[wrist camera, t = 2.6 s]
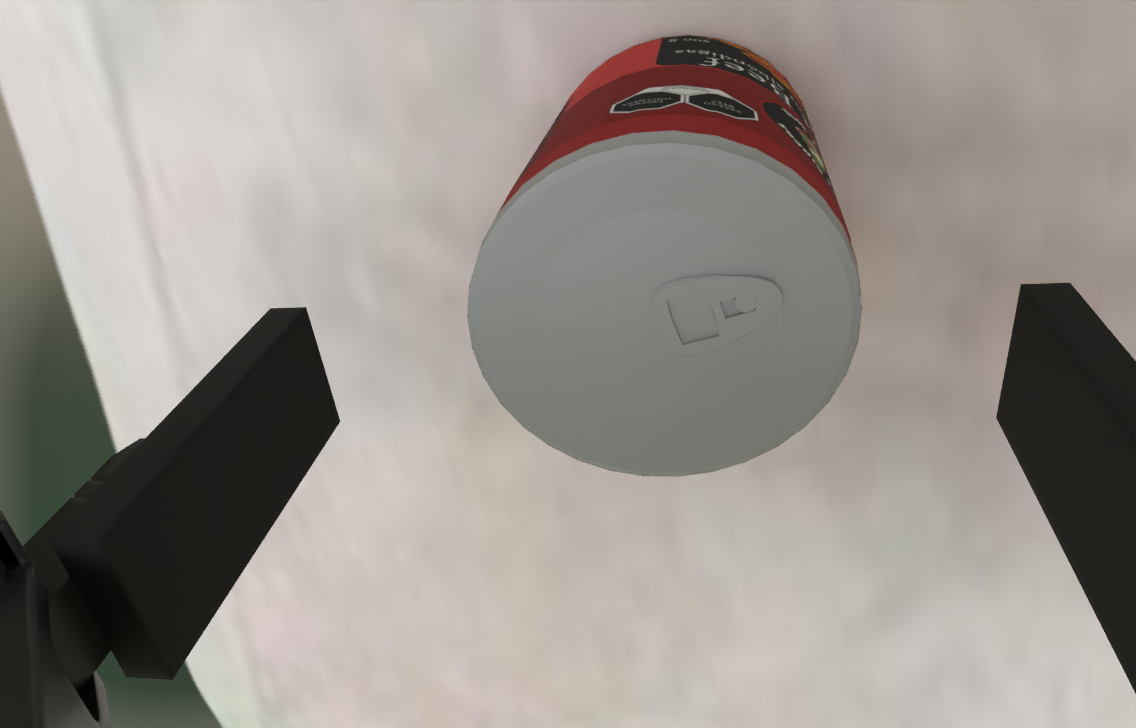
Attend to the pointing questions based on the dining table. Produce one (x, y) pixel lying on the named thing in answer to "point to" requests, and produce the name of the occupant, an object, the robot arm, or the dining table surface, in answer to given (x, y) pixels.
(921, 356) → the dining table surface
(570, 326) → the canned food
